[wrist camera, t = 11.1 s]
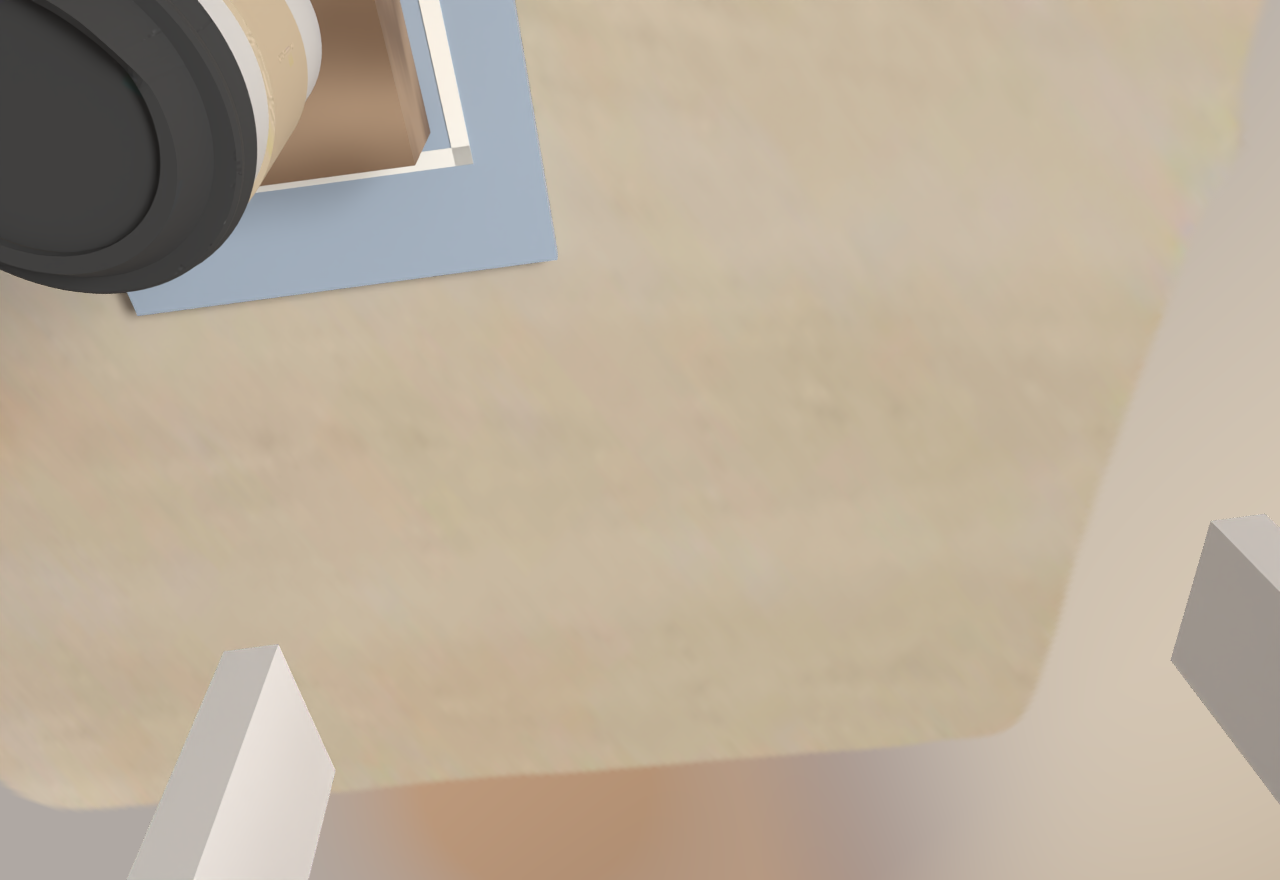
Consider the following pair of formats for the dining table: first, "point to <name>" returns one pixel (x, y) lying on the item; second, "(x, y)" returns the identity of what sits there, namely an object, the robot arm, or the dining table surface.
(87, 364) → the dining table surface
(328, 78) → the walnut base block
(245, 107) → the coffee cup
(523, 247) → the board
